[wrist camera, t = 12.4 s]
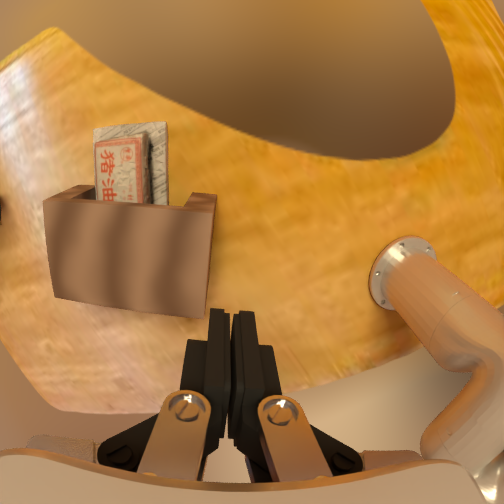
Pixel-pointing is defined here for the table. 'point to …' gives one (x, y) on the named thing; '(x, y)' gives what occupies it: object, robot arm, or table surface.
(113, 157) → the packaged product
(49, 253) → the walnut shelf
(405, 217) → the table surface
